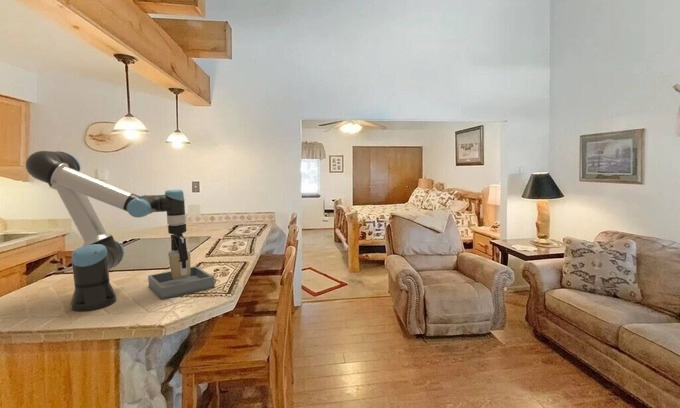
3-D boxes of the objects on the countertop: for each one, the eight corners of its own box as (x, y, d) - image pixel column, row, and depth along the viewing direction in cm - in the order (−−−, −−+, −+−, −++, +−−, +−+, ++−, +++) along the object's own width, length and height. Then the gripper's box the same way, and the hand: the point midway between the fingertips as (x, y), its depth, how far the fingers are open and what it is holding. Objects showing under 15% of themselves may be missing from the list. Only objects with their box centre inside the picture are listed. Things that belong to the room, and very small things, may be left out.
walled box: (162, 299, 150) (161, 288, 149) (148, 286, 167) (147, 275, 167) (214, 287, 164) (213, 276, 163) (196, 275, 182) (196, 266, 181)
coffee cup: (196, 273, 169) (194, 248, 168) (185, 280, 160) (183, 253, 159) (177, 273, 170) (175, 248, 169) (165, 280, 161) (163, 253, 160)
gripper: (193, 225, 157) (197, 276, 159) (178, 220, 173) (181, 266, 175) (175, 228, 152) (179, 280, 154) (161, 222, 168) (165, 269, 171)
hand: (180, 272), depth 165 cm, fingers closed on coffee cup, 9 cm apart
